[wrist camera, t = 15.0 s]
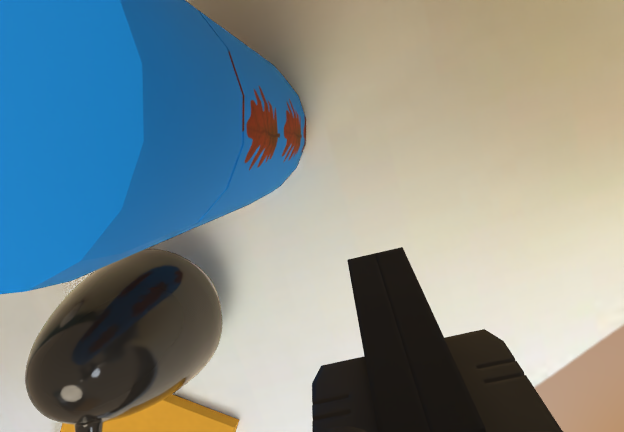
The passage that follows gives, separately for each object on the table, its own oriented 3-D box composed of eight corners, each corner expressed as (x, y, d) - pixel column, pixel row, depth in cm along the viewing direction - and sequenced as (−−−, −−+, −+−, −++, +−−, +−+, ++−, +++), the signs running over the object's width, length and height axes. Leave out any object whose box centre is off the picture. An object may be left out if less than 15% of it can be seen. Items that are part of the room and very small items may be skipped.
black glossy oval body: (132, 371, 41) (-11, 498, 26) (103, 249, 40) (-63, 310, 25) (248, 357, 39) (167, 484, 25) (222, 230, 38) (120, 283, 23)
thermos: (306, 205, 37) (154, 321, 13) (170, 199, 39) (-201, 291, 14) (310, 55, 36) (147, -146, 11) (169, 54, 37) (-252, -125, 13)
